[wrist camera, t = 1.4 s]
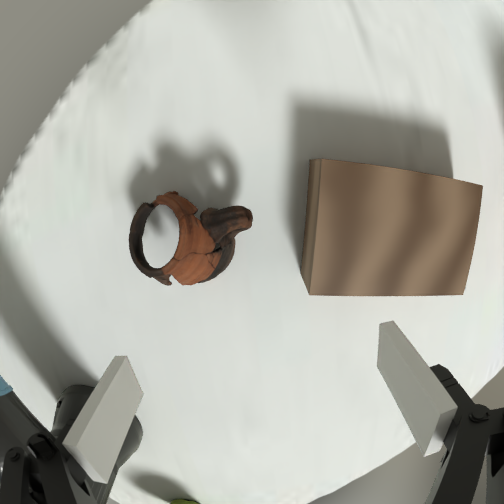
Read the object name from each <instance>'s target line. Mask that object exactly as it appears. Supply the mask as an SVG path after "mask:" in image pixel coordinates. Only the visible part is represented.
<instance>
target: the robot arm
mask: <svg viewBox="0 0 504 504" xmlns="http://www.w3.org/2000/svg"><path fill="white" fill-rule="evenodd" d="M377 367H378V369H379V371H380V373H381V375H382V376H383V378H384V380H385V382H386V384H387V386H388V388H389V389H390V391H391V393H392V395H393V397H394V399H395V401H396V403H397V405H398V407H399V409H400V410H401V412H402V414H403V416H404V418H405V420H406V422H407V424H408V426H409V428H410V430H411V432H412V434H413V436H414V438H415V440H416V442H417V444H418V446H419V448H420V450H421V452H422V455H423V457H425V456H428V455H430V454H433V453H435V452H438V451H440V449H441V447H442V445H443V442H444V444H445V446H446V448H447V450H446V452H445V454H444V456H443V458H442V460H441V462H442V463H441V466H440V469H439V471H438V474H437V476H436V479H435V481H434V484H433V486H432V488H431V491H430V493H429V495H428V497H427V500H426V502H425V504H471V503H472V500H473V496H474V493H475V490H476V487H477V484H478V480H479V476H480V473H481V469H482V465H483V461H484V457H485V456H487V492H486V493H487V494H486V504H504V408H499V409H494V410H489V409H488V408H487V407H486V406H483V405H480V404H475V403H473V401H472V400H471V398H470V397H469V396H468V394H467V393H466V392H465V391H464V389H463V388H462V387H461V385H460V384H458V382H457V380H456V379H455V378H454V377H453V375H452V374H451V373H450V371H449V370H448V369H446V368H445V367H443V366H441V365H440V364H438V365H435V366H432V367H429V366H428V365H427V364H426V362H425V361H424V360H423V358H422V357H421V356H420V354H419V353H418V352H417V350H416V349H415V348H414V347H413V345H412V344H411V343H410V341H409V340H408V339H407V338H406V336H405V335H404V334H403V332H402V331H401V330H400V329H399V327H398V326H397V325H396V324H395V322H394V321H390V322H385V323H381V324H380V326H379V345H378V359H377ZM142 396H143V391H142V389H141V387H140V385H139V383H138V380H137V378H136V376H135V374H134V371H133V369H132V367H131V364H130V362H129V360H128V357H127V356H115V357H114V359H113V360H112V362H111V363H110V365H109V366H108V368H107V369H106V371H105V373H104V374H103V376H102V377H101V379H100V381H99V382H98V384H97V385H96V387H95V388H92V387H88V386H82V385H75V386H71V387H68V388H67V389H66V390H65V391H64V392H63V393H62V395H61V396H60V398H59V400H58V402H57V408H56V411H55V416H54V422H53V428H52V430H51V432H49V431H48V430H47V429H46V428H45V427H44V426H43V425H42V424H41V423H40V421H39V420H38V419H37V418H36V417H35V416H34V415H33V414H32V413H31V412H30V411H29V409H28V408H27V407H26V406H25V405H24V404H23V403H22V401H21V400H20V399H19V398H18V397H17V395H16V394H15V393H14V392H13V388H12V387H11V386H10V385H8V384H7V383H6V381H5V380H4V379H3V378H2V377H1V375H0V504H106V503H107V500H108V497H109V494H110V492H111V489H112V486H113V483H114V480H115V478H116V475H117V472H118V470H119V468H120V467H121V466H122V465H123V464H124V463H125V462H126V461H127V460H128V459H129V458H130V456H131V455H132V454H133V453H134V452H135V451H136V450H137V449H138V447H139V445H140V442H141V439H142V436H143V431H142V427H141V425H140V423H139V421H138V419H137V418H136V417H135V413H136V411H137V408H138V406H139V403H140V401H141V399H142Z"/></svg>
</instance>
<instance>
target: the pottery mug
mask: <svg viewBox="0 0 504 504" xmlns="http://www.w3.org/2000/svg"><path fill="white" fill-rule="evenodd" d="M159 204H161V205H167V206H169V207H170V208H171V209H172V210H173V212H174V213H175V215H176V217H177V219H178V220H179V242H178V246H177V249H176V252H175V254H174V256H173V258H172V259H171V260H170V261H169V262H168V263H167V264H166V265H165V266H163V267H162V268H153V267H151V266H150V265H149V263H148V262H147V261H146V259H145V256H144V253H143V244H142V236H143V232H144V227H145V223H146V220H147V218H148V216H149V215H150V213H151V212H152V210H153V209H154V208H155V207H156V206H157V205H159ZM197 211H198V209H197V207H196V206H194V205H193V204H192V203H191V202H189V201H188V200H187V199H185V198H183V197H181V196H179V195H178V192H176V191H173V192H168V193H166V194H164V195H158V196H157V199H156V200H155V201H153V202H152V203H151V204H149V203H143V204H142V205H141V206H140V207H139V209H138V210H137V212H136V214H135V215H134V218H133V220H132V223H131V227H130V234H129V249H130V253H131V257H132V259H133V262H134V264H135V265H136V266H137V268H138V269H139V270H140V271H141V272H142V273H144V274H145V275H146V276H148V277H149V278H151V277H153V278H155V279H156V280H158V281H159V282H161V283H162V284H165V285H171V284H172V283H171V282H170V281H169V277H170V276H171V275H172V276H173V277H174V278H175V279H176V280H177V281H178V282H179V283H181V284H182V285H193V284H195V283H203V282H206V281H209V280H211V279H213V278H215V277H216V276H217V275H218V274H220V273H221V272H223V271H224V270H225V269H226V268H227V266H228V265H229V263H230V262H231V260H232V258H233V255H234V250H235V239H234V237H235V236H236V235H237V234H238V233H239V232H241V231H244V230H247V229H249V228H251V226H252V220H253V216H252V213H251V211H250V210H249V209H247V208H245V207H243V206H231V207H227V208H222V209H220V210H217V209H214V208H208V209H206V210H204V211H203V212H202V213H201V216H200V218H201V220H199V219H198V218H196V217H195V216H194V214H195V213H196V212H197ZM216 243H219V246H220V247H219V248H217V249H215V250H214V248H215V246H216Z"/></svg>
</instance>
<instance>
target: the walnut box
mask: <svg viewBox="0 0 504 504" xmlns="http://www.w3.org/2000/svg"><path fill="white" fill-rule="evenodd" d="M482 189H483V186H482V185H478V184H474V183H470V182H465V181H461V180H456V179H451V178H447V177H442V176H437V175H432V174H426V173H421V172H415V171H410V170H404V169H397V168H391V167H385V166H378V165H371V164H363V163H355V162H347V161H338V160H329V159H311V160H310V163H309V179H308V194H307V207H306V220H305V232H304V243H303V254H302V265H301V276H302V278H303V281H304V283H305V286H306V288H307V290H308V293H309V295H324V296H438V295H463V293H464V289H465V286H466V282H467V278H468V273H469V269H470V265H471V260H472V255H473V250H474V245H475V240H476V234H477V228H478V221H479V215H480V207H481V198H482Z"/></svg>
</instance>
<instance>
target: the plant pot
mask: <svg viewBox="0 0 504 504" xmlns="http://www.w3.org/2000/svg"><path fill="white" fill-rule="evenodd" d="M170 504H199V503H197V502H194V501H186V500H184V499H176V500H173V501H172V502H171V503H170Z"/></svg>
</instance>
